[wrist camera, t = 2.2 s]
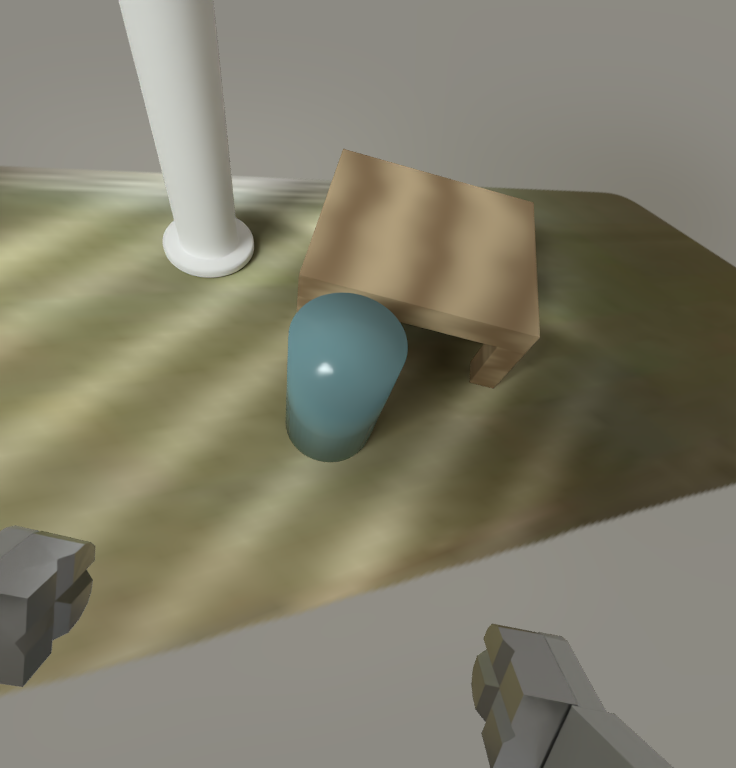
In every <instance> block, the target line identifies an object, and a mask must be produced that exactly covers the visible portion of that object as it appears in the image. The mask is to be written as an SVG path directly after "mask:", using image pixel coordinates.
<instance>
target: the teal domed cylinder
mask: <svg viewBox="0 0 736 768" xmlns="http://www.w3.org/2000/svg"><path fill="white" fill-rule="evenodd" d="M407 351H408V344H407V338H406V334H405V331H404V329H403V327H402V325H401V323H400V322H399V320H398V319H397V318H396V316H395V315H394V314H393V313H392V312H391V311H390V310H389V309H387V308H386V307H385V306H383V305H382V304H380V303H379V302H377V301H375V300H373V299H371V298H368V297H366V296H362V295H359V294H354V293H331V294H326V295H322V296H319V297H317V298H315V299H313V300H311V301H309V302H308V303H306V304H305V305H304V306H303V307H302V308H300V310H299V311H298V312H297V313H296V315H295V316H294V318H293V320H292V322H291V325H290V329H289V337H288V366H287V396H286V429H287V433H288V435H289V438H290V440H291V441H292V443H293V444H294V446H295V447H296V448H297V449H298V450H299V451H300V452H302V453H303V454H304V455H306V456H308V457H310V458H312V459H315V460H318V461H323V462H338V461H342V460H345V459H348V458H350V457H352V456H354V455H355V454H356V453H358V452H359V451H360V450H361V449H362V448H363V447H364V445H365V444H366V442H367V440H368V438H369V436H370V434H371V432H372V430H373V428H374V426H375V424H376V422H377V420H378V418H379V416H380V413H381V411H382V409H383V407H384V405H385V403H386V401H387V399H388V397H389V395H390V393H391V391H392V388H393V386H394V384H395V382H396V380H397V378H398V376H399V374H400V372H401V370H402V368H403V366H404V363H405V361H406V357H407Z"/></svg>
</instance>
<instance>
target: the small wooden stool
mask: <svg viewBox="0 0 736 768" xmlns="http://www.w3.org/2000/svg"><path fill="white" fill-rule="evenodd" d="M331 293H354V294H359V295H362V296H366V297H368V298H371V299H373V300H375V301H377V302H379V303H380V304H382V305H383V306H385V307H386V308H387V309H389V310H390V311H391V312H392V313H393V314H394V315H395V316H396V318H397V319H398V320H399V322H401V323H405V324H409V325H413V326H417V327H421V328H425V329H429V330H433V331H437V332H441V333H444V334H448V335H452V336H456V337H460V338H464V339H468V340H472V341H476V342H480V343H483V345H482V347H481V348H480V350H479V351H478V352H477V354H476V355H475V356H474V358H473V359H472V360H471V363H470V381H469V382H470V383H474V384H478V385H482V386H486V387H490V388H494V387H495V386H496V385H497V384H498V383H499V382H500V381H501V380H502V379H503V377H504V376H505V375H506V374H507V373H508V372H509V371H510V370H511V369H512V368H513V366H514V365H515V364H516V363H517V362H518V361H519V360H520V359H521V358H522V357H523V355H524V354H525V353H526V352H527V351H528V350H529V349H530V348H531V347H532V346H533V344H534V343H535V342H536V341H537V340H538V339H539V338H540V328H539V307H538V286H537V265H536V245H535V224H534V203H533V202H529V201H526V200H522V199H519V198H515V197H512V196H508V195H504V194H501V193H497V192H494V191H490V190H487V189H483V188H480V187H476V186H473V185H469V184H466V183H462V182H459V181H455V180H451V179H448V178H444V177H441V176H437V175H434V174H430V173H427V172H423V171H420V170H416V169H412V168H409V167H406V166H402V165H399V164H395V163H392V162H388V161H384V160H381V159H377V158H374V157H370V156H367V155H363V154H359V153H356V152H353V151H349V150H346V149H343V151H342V154H341V157H340V160H339V162H338V165H337V168H336V171H335V174H334V177H333V179H332V182H331V185H330V188H329V191H328V194H327V197H326V199H325V202H324V205H323V208H322V211H321V214H320V217H319V219H318V222H317V225H316V228H315V231H314V234H313V236H312V239H311V242H310V245H309V248H308V251H307V254H306V256H305V259H304V262H303V265H302V268H301V271H300V274H299V284H298V300H297V312H298V311H299V310H300V308H302V307H303V306H304V305H305V304H306V303H308V302H309V301H311V300H313V299H315V298H317V297H319V296H322V295H326V294H331Z"/></svg>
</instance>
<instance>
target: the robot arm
mask: <svg viewBox="0 0 736 768" xmlns="http://www.w3.org/2000/svg"><path fill="white" fill-rule="evenodd" d="M94 561H95V545H94V544H92V543H91V542H88V541H84V540H79V539H75V538H71V537H66V536H62V535H58V534H53V533H49V532H44V531H38V530H33V529H29V528H25V527H20V526H16V525H15V526H11V527H6V528H5V529H3V530H2V531H0V684H6V685H13V686H20V687H23V686H24V685H25V684H26V682H27V681H28V680H29V679H30V678H31V676H32V675H33V674H34V673H35V672H36V671H37V669H38V668H39V667H40V666H41V665H42V663H43V662H44V661H45V660H46V659H47V657H48V656H49V655H50V654H51V650H52V640H54V639H56V638H58V637H60V636H62V635H64V634H66V633H68V632H69V631H70V630H71V629H72V627H73V626H74V625H75V624H76V622H77V621H78V620H79V618H80V617H81V615H82V613H83V611H84V609H85V607H86V605H87V603H88V600H89V597H90V594H91V590H92V582H93V580H92V578H91V576H90V575H89V573H88V571H87V570H86V569H87V568H88V567H89V566H90V565H91V564H92V563H93V562H94ZM484 641H485V645H486V648H487V649H486V650H485V651H483V652H482V653H481V654H479V655H478V656H477V658H476V661H475V664H474V667H473V672H472V683H471V685H472V696H473V701H474V705H475V709H476V710H477V712H478V713H479V714H480V716H481V717H482V718H483V719H484V721H485V722H486V723H485V726H484V728H483V731H482V737H483V741H484V745H485V749H486V753H487V757H488V761H489V765H490V768H673V767H672V766H671V765H670V764H669V763H668V762H667V761H666V760H664V759H663V758H662V757H661V756H660V755H659V754H658V753H657V752H656V751H655V750H654V749H652V748H651V747H650V746H649V745H648V744H647V743H646V742H645V741H644V740H643V739H642V738H640V737H639V736H638V735H637V734H636V733H635V732H634V731H633V730H632V729H631V728H630V727H628V726H627V725H626V724H625V723H624V722H623V721H622V720H621V719H620V718H619V717H617V716H616V715H615V714H614V713H609V712H606V710H605V708H604V706H603V704H602V703H601V701H600V699H599V697H598V696H597V694H596V692H595V690H594V688H593V686H592V685H591V683H590V681H589V679H588V677H587V676H586V674H585V672H584V670H583V668H582V666H581V665H580V663H579V661H578V659H577V657H576V656H575V654H574V652H573V650H572V648H571V647H570V645H569V643H568V641H567V640H565V639H564V638H563V637H562V636H557V635H552V634H546V633H540V632H538V633H536V632H532V631H527V630H522V629H517V628H512V627H507V626H501V625H496V624H491V626H490V627H489V628H488V629H487V631H486V634H485V636H484Z"/></svg>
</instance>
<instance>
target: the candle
mask: <svg viewBox="0 0 736 768" xmlns="http://www.w3.org/2000/svg"><path fill="white" fill-rule="evenodd" d="M119 4H120V8H121V12H122V16H123V20H124V24H125V28H126V32H127V35H128V40H129V44H130V48H131V52H132V55H133V59H134V63H135V67H136V71H137V75H138V79H139V83H140V87H141V91H142V95H143V98H144V102H145V107H146V110H147V115H148V118H149V122H150V126H151V130H152V134H153V138H154V142H155V146H156V150H157V154H158V158H159V162H160V166H161V170H162V174H163V178H164V182H165V186H166V190H167V194H168V198H169V202H170V205H171V209H172V213H173V217H174V221H173V222H172V223H171V224H170V225H169V226H168V227H167V229H166V230H165V232H164V235H163V247H164V251H165V254H166V256H167V258H168V259H169V260H170V262H171V263H172V264H173V265H174V266H175V267H177V268H178V269H180V270H182V271H183V272H186V273H188V274H191V275H194V276H199V277H207V278H213V277H222V276H226V275H229V274H232V273H234V272H236V271H238V270H240V269H241V268H243V267H244V266H245V265H246V264H247V263H248V262H249V261H250V259H251V257H252V255H253V252H254V239H253V235H252V233H251V231H250V229H249V228H248V227H247V226H246V225H245V224H244V223H243V222H242V221H241V220H239V219H238V218H236V217H235V207H234V198H233V188H232V178H231V168H230V159H229V149H228V139H227V129H226V120H225V110H224V99H223V90H222V79H221V71H220V60H219V50H218V40H217V30H216V21H215V11H214V1H213V0H119Z"/></svg>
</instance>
